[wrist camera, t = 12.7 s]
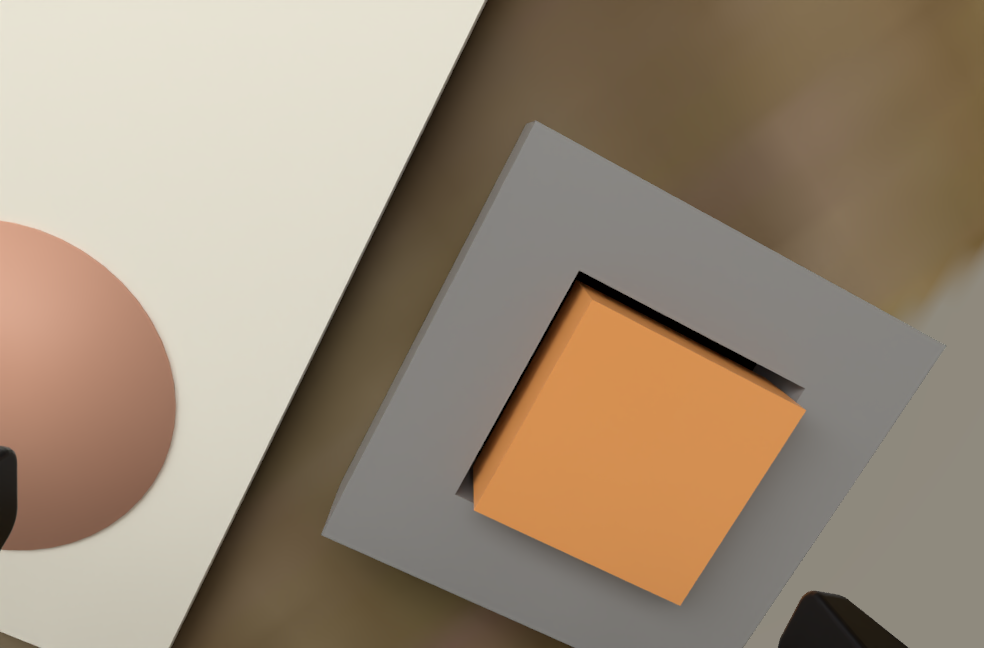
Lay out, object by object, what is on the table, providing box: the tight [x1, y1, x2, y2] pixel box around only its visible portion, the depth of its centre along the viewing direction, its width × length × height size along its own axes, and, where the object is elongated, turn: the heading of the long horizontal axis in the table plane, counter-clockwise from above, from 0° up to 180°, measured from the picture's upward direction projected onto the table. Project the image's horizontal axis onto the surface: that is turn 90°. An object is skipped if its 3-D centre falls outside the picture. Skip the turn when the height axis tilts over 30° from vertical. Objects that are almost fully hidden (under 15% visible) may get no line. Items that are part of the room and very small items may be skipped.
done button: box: [473, 280, 806, 606], centre depth 17 cm, size 5×5×2 cm
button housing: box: [321, 121, 946, 648], centre depth 18 cm, size 10×10×2 cm
